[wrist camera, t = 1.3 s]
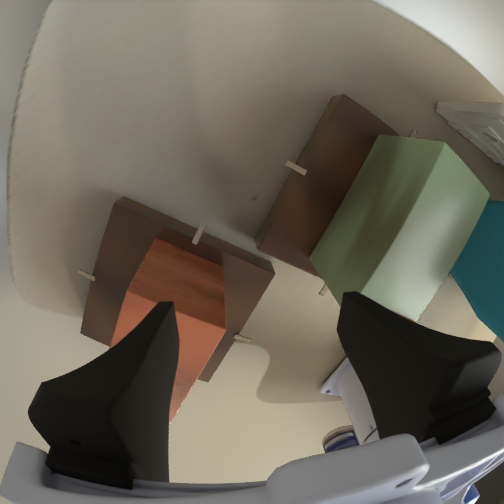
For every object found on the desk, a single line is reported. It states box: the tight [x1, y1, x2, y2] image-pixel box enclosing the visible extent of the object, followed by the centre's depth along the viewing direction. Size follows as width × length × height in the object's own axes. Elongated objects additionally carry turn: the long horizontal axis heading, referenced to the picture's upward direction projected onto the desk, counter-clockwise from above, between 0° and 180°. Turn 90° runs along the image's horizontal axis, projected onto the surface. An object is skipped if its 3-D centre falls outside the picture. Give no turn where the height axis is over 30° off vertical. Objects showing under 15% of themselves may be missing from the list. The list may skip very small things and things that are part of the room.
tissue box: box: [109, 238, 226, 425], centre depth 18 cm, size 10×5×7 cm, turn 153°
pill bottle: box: [322, 426, 361, 453], centre depth 30 cm, size 5×5×10 cm
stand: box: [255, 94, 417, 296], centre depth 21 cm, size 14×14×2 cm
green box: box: [309, 135, 490, 323], centre depth 16 cm, size 10×5×7 cm, turn 153°
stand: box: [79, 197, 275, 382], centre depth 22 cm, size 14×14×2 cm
